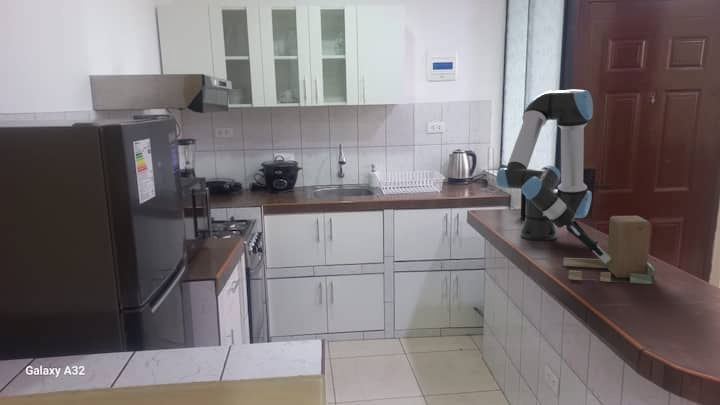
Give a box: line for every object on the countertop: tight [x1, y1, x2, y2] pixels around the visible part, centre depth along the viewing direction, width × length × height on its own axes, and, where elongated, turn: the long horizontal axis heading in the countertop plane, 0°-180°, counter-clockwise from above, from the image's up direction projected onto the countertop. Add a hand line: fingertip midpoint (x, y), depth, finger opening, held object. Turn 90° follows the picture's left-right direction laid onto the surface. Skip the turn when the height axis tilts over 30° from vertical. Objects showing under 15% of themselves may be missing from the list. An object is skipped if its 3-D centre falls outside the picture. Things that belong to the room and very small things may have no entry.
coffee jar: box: [520, 191, 526, 220], centre depth 252 cm, size 11×11×18 cm
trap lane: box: [563, 257, 656, 285], centre depth 171 cm, size 15×26×5 cm, turn 74°
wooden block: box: [606, 215, 651, 279], centre depth 168 cm, size 10×10×20 cm
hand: (607, 260), depth 170 cm, fingers closed
